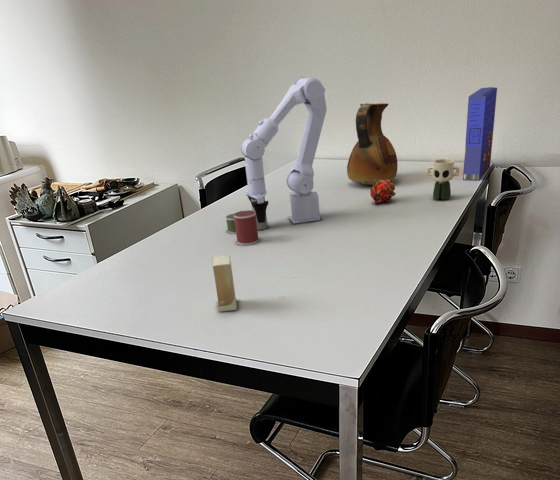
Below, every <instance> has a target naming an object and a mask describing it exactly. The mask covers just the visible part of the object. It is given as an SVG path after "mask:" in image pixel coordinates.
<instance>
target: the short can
mask: <svg viewBox="0 0 560 480" xmlns="http://www.w3.org/2000/svg"><path fill="white" fill-rule="evenodd" d="M234 213H235V212H234ZM234 213H230V214H227V215H226V216H225V219H226V226H227V232H228V234H231V235H233V234H235V235H236V228H235V220H234Z"/></svg>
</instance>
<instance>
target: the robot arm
mask: <svg viewBox="0 0 560 480" xmlns="http://www.w3.org/2000/svg"><path fill="white" fill-rule="evenodd" d="M325 92H326V88H325V86H324V84H323V83H322V82H321V80H319V79H318V78H316V77H312V78H311V77H306V76H300V77H298V78H296V80H295V81H294V83H293V84H291V86H290V87H289V88H288V90H287V92H286V94H285V95H284V96H283V98H282V99H281V101H280V102H279V104H278V105H277V107H276V108H275V110H274V111H273V112H272V114H271V115H270V117H265V118H263V119H262V120H261V119H259V121H258V123H257V124H258V126H257V127H256V128H255V129H254V131H253V132H252V133H250V134H249V137H248V138H246V139H245V140H243V142H242V144H241V148H240V152H241V154H242V155H243V156H244V165H245V175H246V184H247V192H244V196H245V197H247V199H248V200H249V202H250V204H251V207H252V206H253V208H254V210H255V212H256V217H257V220H258V223H263V222H265V216H267V208H268V206H269V200H265V201H264V199H263V198H264V197H266V195H267V190H266V180H265V171H264V162H263V156H264V155H265V151H266V147H267V146H268V145H269V144H270V142H271V141H272V139H274V137H275V136H276V135H277V133H278V132H279V125H280V124H281V122H282V121H283V120H284V119H285V118H286V116H287V115H288V114H289V113H290V112H291V111H292V110H293V108H294V107H295V106H298V105H302V104H304V106H305V108H306V109H307V112H308V115H307V118H306V122H305V127H304V130H303V135H302V138H301V142H300V147H299V150H298V155H297V157H296V158H297V159H296V161H295V163H294V164H293V165H292V166H291V170H290V173H288V174H287V177H286V180H285V181H286V185H287V188H289V189H290V190H289V199H290V211H291V215H289V217H288V218H289V219H290V221H291V223H292V224H294V225H295V224H301V223H309V222H314V221H315V222H316V221H320V220H321V216H320V199H319V195H318V192H317V191H313V189H314V184H315V183H314V175H315V172H314V169H313V164H314V160H315V156H316V152H317V148H318V146H319V141H320V137H321V133H322V129H323V126H324V122H325V119H326V116H327V115H326V114H327V109H328V108H327V103H326V102H327V101H326V96H325ZM252 197H253V198H255V199H257V201H254V202H251V198H252Z"/></svg>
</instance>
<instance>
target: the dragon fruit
mask: <svg viewBox="0 0 560 480" xmlns="http://www.w3.org/2000/svg"><path fill="white" fill-rule="evenodd" d="M371 186H372V187H371V189H370V191H369V193H370V197H371V198H372V200H373V201H374V204H375V205H380V204H382V203H384V202H385V203H389V202H390V201H392V200H391V199H392V198H393V197H395V196H396V192H394V191H395V190H396V187H395V184H394V182H392V181H391V180H386V181H384V180H383V179H380V182H375V183H374V185H371Z"/></svg>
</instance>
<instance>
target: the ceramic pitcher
mask: <svg viewBox="0 0 560 480" xmlns="http://www.w3.org/2000/svg"><path fill="white" fill-rule="evenodd" d="M359 106H360V107H359V108H358V109H357V112H356V113H355V131H356V136H357V141H356V143H355V145H354V146H353V148H352V150H351V152H350V154H349V158H348V161H347V165H346V175H347V178H348V179H349V180H350V181H352V182H356V183H358V184H363V185H370V186H373V185H374V183H375V182H380V179H383V180H384V181H386V180H390V181H391V180H394V179H395V178H396V176H397V174H398V167H399V166H398V165H399V164H398V156H397V152H396V149H395V147H394V146H393V144H392V142H391V141H390V140H389V138H388V137H387V136H386V135H384V132H383V130H382V120H383V113H384V111H385V110H386V108H387V107H388V106H389V102H387V103H384V102H383V103H382V102H380V103H379V102H378V103H369V102H366V103H360V104H359Z"/></svg>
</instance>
